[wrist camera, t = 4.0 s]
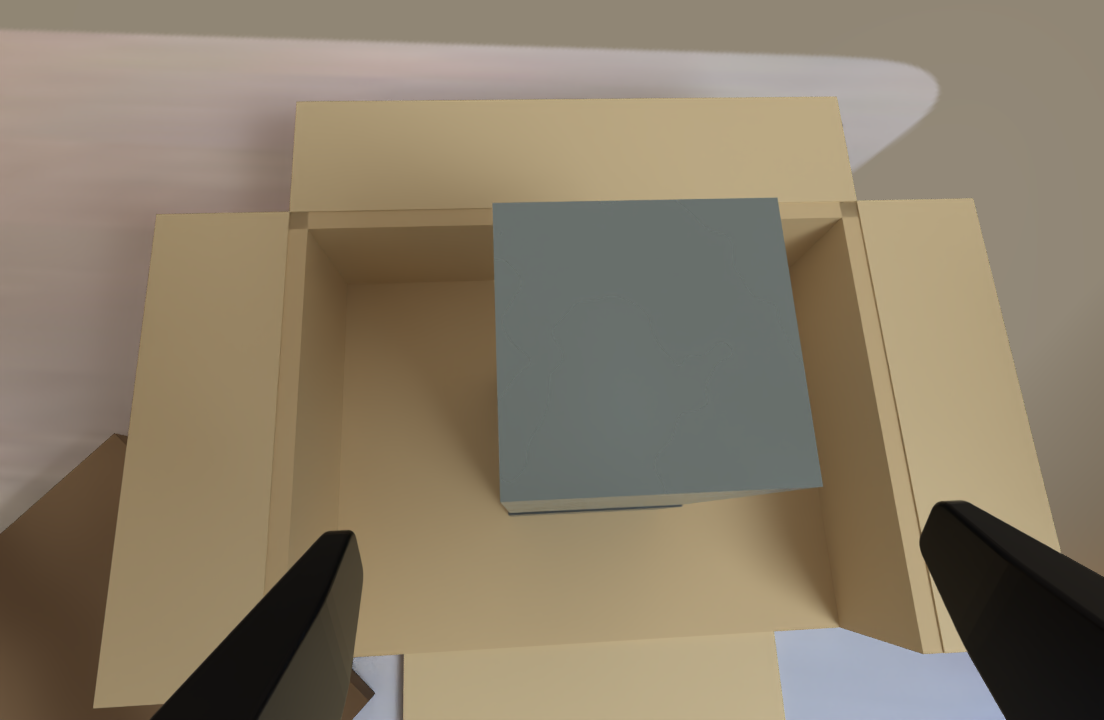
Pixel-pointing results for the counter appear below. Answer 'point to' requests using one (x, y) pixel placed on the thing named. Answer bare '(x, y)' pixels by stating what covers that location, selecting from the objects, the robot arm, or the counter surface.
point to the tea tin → (646, 356)
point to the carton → (472, 418)
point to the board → (70, 598)
